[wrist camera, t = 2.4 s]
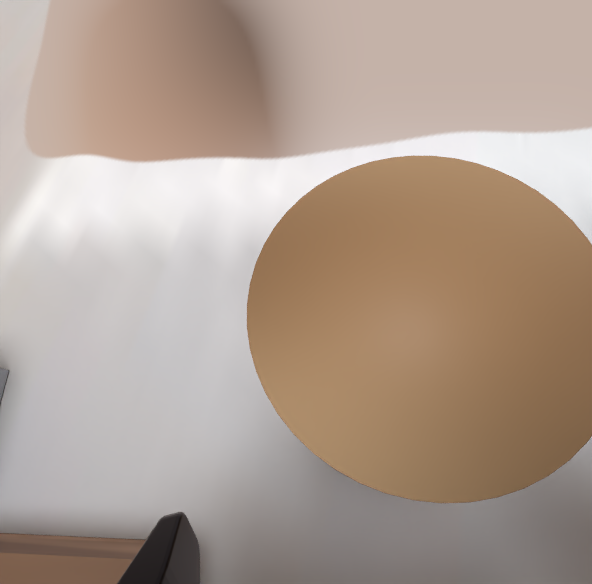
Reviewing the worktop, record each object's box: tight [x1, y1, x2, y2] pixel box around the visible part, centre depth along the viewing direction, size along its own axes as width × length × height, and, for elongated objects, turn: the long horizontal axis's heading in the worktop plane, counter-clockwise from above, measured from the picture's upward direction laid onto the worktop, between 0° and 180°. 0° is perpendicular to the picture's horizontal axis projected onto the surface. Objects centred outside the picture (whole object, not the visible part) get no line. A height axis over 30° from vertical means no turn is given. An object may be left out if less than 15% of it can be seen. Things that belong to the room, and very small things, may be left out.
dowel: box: [247, 156, 592, 503], centre depth 11 cm, size 4×4×14 cm
